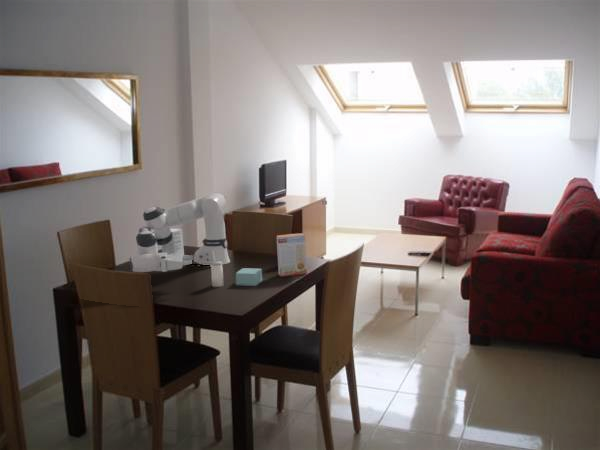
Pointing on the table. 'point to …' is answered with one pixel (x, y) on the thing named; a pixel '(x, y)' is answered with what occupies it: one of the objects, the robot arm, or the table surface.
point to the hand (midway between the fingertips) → (192, 259)
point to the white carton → (174, 243)
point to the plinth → (249, 277)
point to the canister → (217, 273)
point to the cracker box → (291, 254)
